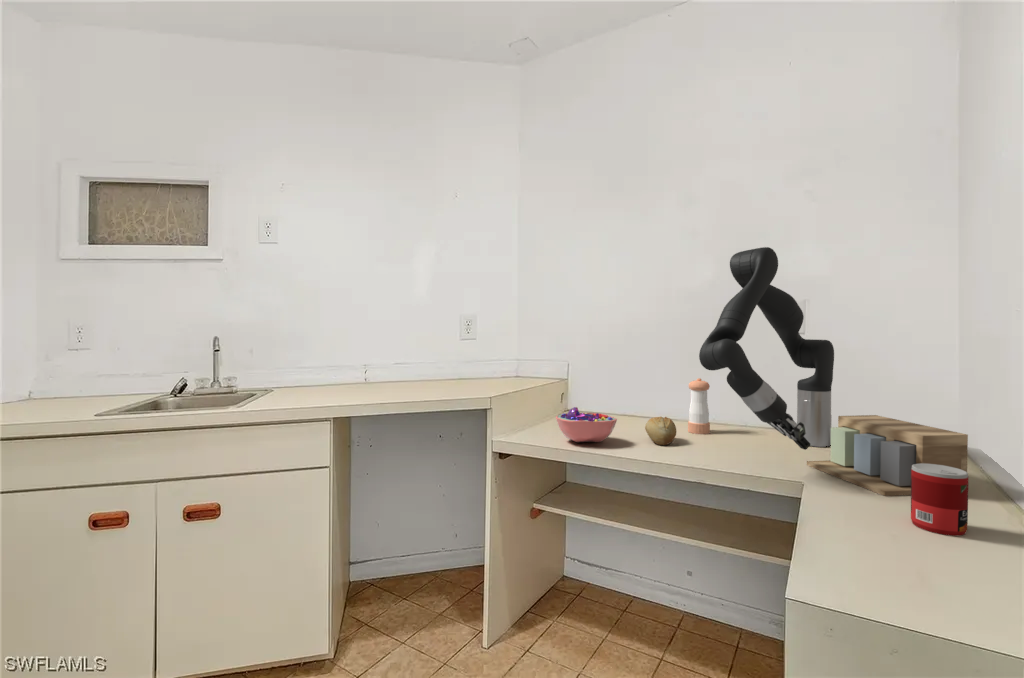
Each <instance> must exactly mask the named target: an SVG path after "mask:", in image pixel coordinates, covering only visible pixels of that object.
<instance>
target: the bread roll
mask: <svg viewBox="0 0 1024 678" xmlns="http://www.w3.org/2000/svg"><path fill="white" fill-rule="evenodd" d="M644 430H645V432H646V433H647V436H648V437H649V439H650V440H651V442H653V443H654V444H657V445H658V446H667V445H670V444H671V443H672V442H673V441H674V440H675V438H676V436H677V427H676V425H675V422H674V421H673V419H671V418H670V417H667V416H665V417H662V416H655V417H651V418H649V419H648V420H647V421H646V424H645V426H644Z"/></svg>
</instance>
